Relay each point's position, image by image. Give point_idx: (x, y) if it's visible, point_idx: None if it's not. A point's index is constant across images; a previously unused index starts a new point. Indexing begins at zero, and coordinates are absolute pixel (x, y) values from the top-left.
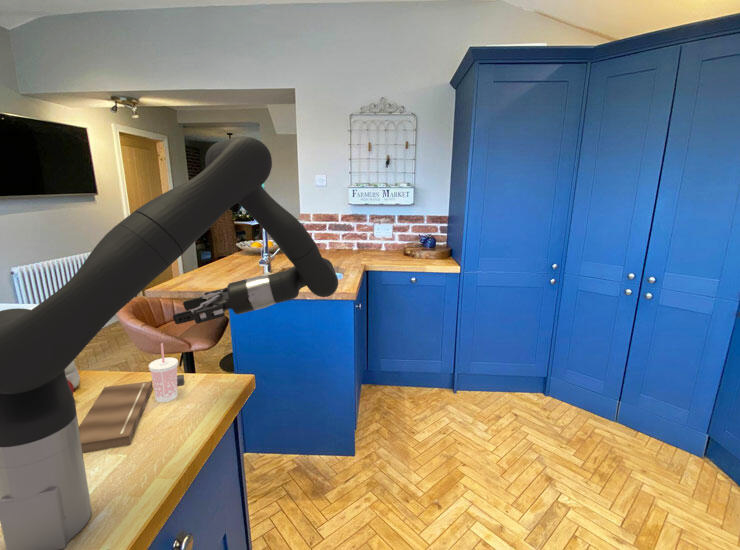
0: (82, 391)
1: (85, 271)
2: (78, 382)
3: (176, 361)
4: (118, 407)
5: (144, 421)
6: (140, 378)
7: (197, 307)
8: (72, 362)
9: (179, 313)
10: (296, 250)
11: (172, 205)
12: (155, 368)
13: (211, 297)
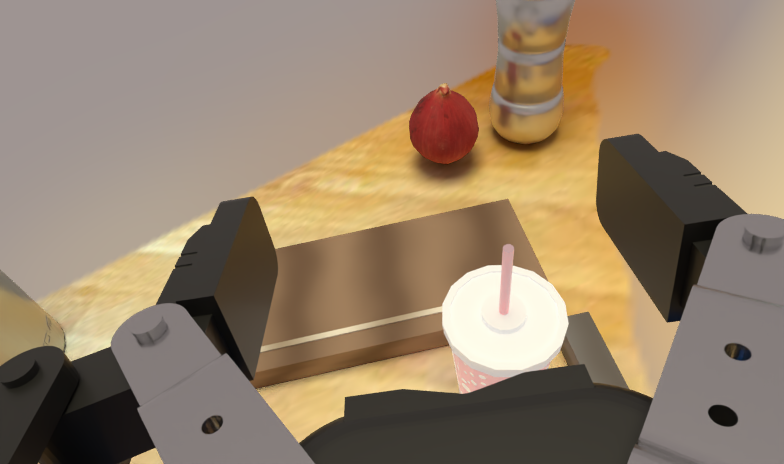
0: (520, 164)
1: None
2: (535, 137)
3: (525, 361)
4: (386, 284)
5: (346, 382)
6: (618, 256)
7: (202, 345)
8: (537, 77)
9: (215, 226)
10: None
11: None
12: (449, 303)
13: (638, 412)
